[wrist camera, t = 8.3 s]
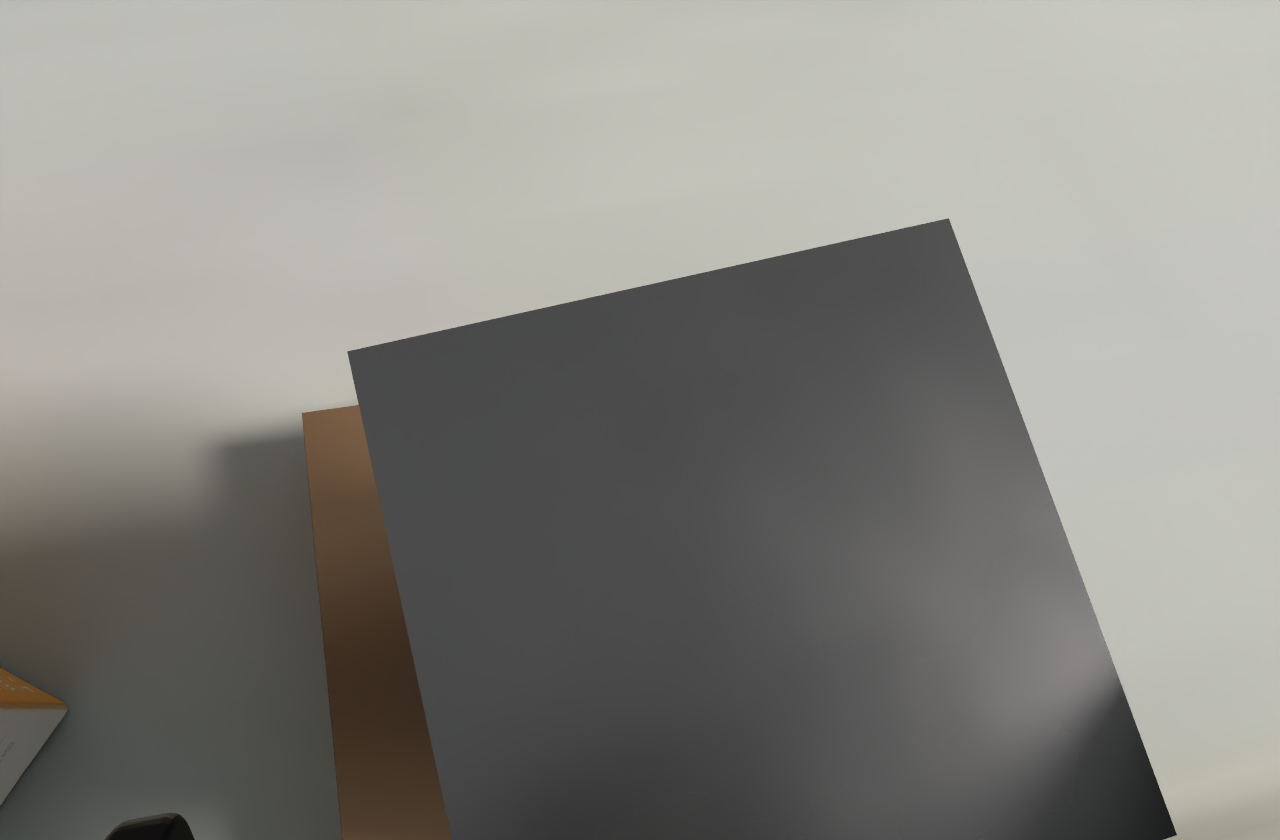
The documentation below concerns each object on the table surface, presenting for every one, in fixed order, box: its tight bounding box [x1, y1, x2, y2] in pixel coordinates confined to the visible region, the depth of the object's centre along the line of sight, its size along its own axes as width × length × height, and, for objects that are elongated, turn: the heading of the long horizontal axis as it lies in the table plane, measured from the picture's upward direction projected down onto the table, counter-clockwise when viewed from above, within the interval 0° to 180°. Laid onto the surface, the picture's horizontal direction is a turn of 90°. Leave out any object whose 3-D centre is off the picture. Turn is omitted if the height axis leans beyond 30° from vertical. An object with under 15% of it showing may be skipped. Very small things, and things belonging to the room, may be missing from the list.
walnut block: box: [302, 405, 452, 840], centre depth 20 cm, size 11×11×3 cm
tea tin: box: [348, 219, 1177, 840], centre depth 14 cm, size 6×6×10 cm
